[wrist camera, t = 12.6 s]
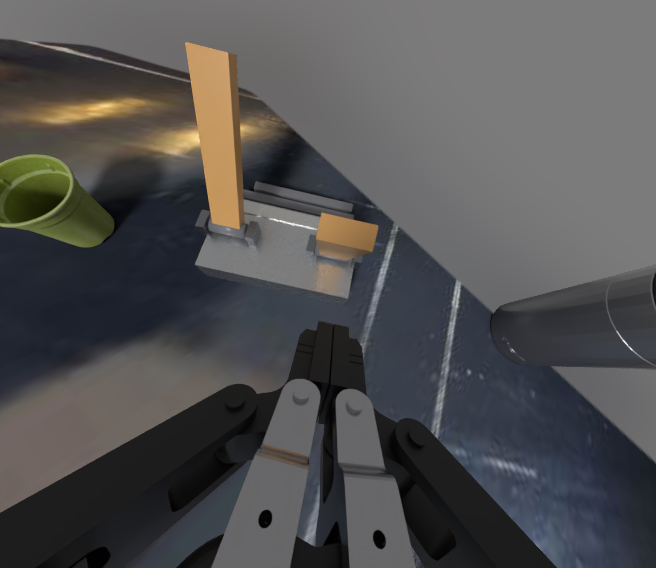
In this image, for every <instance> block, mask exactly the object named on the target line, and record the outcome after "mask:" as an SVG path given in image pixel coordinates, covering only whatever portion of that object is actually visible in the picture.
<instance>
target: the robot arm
mask: <svg viewBox="0 0 656 568" xmlns="http://www.w3.org/2000/svg"><path fill="white" fill-rule="evenodd" d="M491 332H492V336H493V339H494V341H495V343H496V345H497V346H498V348H499V349H500V351H501V352H502V353H503V354H504V355H505V356H506V357H508V358H509V359H510V360H512V361H514V362H516V363H519V364H523V365H541V366H563V367H591V368H621V369H647V370H656V265H652V266H648V267H645V268H641V269H637V270H633V271H629V272H626V273H622V274H619V275H615V276H611V277H608V278H603V279H600V280H596V281H592V282H588V283H584V284H580V285H577V286H573V287H569V288H565V289H561V290H558V291H554V292H550V293H546V294H542V295H538V296H535V297H531V298H527V299H523V300H519V301H515V302H511V303H508V304H504V305H502V306H500V307H499V308H498V309H497V310H496V311H495V312H494V314H493V317H492V320H491ZM318 417H319V422H318V423H319V424H325V425H324V436H323V439H322V442H321V457H320V505H319V515H318V521H317V529H316V547H314V546H312V545H310V544H309V543H307V542H305V541H304V540H302V539H300V538H298V537H297V536H296V533H297V527H298V522H299V517H300V511H301V506H302V501H303V495H304V490H305V485H306V479H307V474H308V468H309V456H310V450H311V445H312V440H313V435H314V429H315V424H316V423H317V420H318ZM248 460H253V461H252V464H251V466H250V469H249V472H248V474H247V477H246V479H245V482H244V485H243V487H242V490H241V492H240V495H239V497H238V500H237V503H236V505H235V508H234V510H233V513H232V516H231V518H230V521H229V523H228V526H227V529H226V531H225V534H222V535H220V536H217V537H216V538H214V539H212V540H210V541H208V542H206V543H205V544H204V545H202V546H201V547H199V548H198V549H196V550H195V551H194V552H193V553H192V554H190V555H189V556H188V557H187V558H186V559H185V560H184V561H183V562H182V563H180V564H179V565H178V566H177V567H176V568H416V566H415V561H414V557H413V552H412V548H411V546H412V547H413V549H414V551H415V552H416V554H417V555H418V557H419V558H420V560H421V562H422V563H423V565H424V566H425V568H557V567H556V566H555V565H554V564H553V563H552V562H551V561H550V560H549V559H548V558H547V557H546V556H545V554H544V553H543V552H542V551H541V550H540V549H539V548H538V547H537V546H536V545H535V544H534V543H533V542H532V540H531V539H530V538H529V537H528V536H527V535H526V534H525V533H524V532H523V531H522V530H521V529H520V528H519V526H518V525H517V524H516V523H515V522H514V521H513V520H512V519H511V518H510V517H509V516H508V515H507V514H506V512H505V511H504V510H503V509H502V508H501V507H500V506H499V505H498V504H497V503H496V502H495V501H494V500H493V498H492V497H491V496H490V495H489V494H488V493H487V492H486V491H485V490H484V489H483V488H482V487H481V486H480V485H479V483H478V482H477V481H476V480H475V479H474V478H473V477H472V476H471V475H470V474H469V473H468V472H467V471H466V469H465V468H464V467H463V466H462V465H461V464H460V463H459V462H458V461H457V460H456V459H455V458H454V457H453V455H452V454H451V453H450V452H449V451H448V450H447V449H446V448H445V447H444V446H443V445H442V444H441V443H440V441H439V440H438V439H437V438H436V437H435V436H434V435H433V434H432V433H431V432H430V431H429V430H428V429H427V428H426V427H425V426H424V425H423V424H422V423H420V422H419V421H416V420H414V419H410V418H404V419H402V420H400V421H399V422H398V423H397V422H395V421H393V420H391V419H389V418H387V417H385V416H383V415H382V414H380V413H379V412H377V411H376V410H375V409H374V408H373V406H372V403H371V401H370V400H369V398H368V397H367V394H366V385H365V374H364V366H363V353H362V347H361V345H360V344H359V342H358V340H357V339H352V338H349V328H348V327H345V326H340V325H336V324H334V325H333V324H331V323H326V322H321V321H319V322H318V326H317V330H316V331H313V330H309V329H306V330H305V331H304V332H303V333H302V334H301V335H300V337H299V341H298V345H297V348H296V352H295V356H294V359H293V363H292V367H291V371H290V374H289V378H288V380H287V382H286V383H285V385H284V386H282V387H281V388H280V389H278V390H276V391H273V392H269V393H260V394H256V392H255V391H254V389H253V388H251V387H250V386H247V385H244V384H234V385H230V386H227V387H225V388H223V389H222V390H220V391H218V392H216V393H214V394H213V395H211V396H209V397H207V398H206V399H204V400H202V401H200V402H198V403H197V404H195V405H193V406H191V407H189V408H188V409H186V410H184V411H182V412H180V413H179V414H177V415H175V416H173V417H171V418H170V419H168V420H166V421H164V422H162V423H161V424H159V425H157V426H155V427H153V428H152V429H150V430H148V431H146V432H145V433H143V434H141V435H139V436H137V437H136V438H134V439H132V440H130V441H128V442H127V443H125V444H123V445H121V446H119V447H118V448H116V449H114V450H112V451H110V452H109V453H107V454H105V455H103V456H101V457H100V458H98V459H96V460H94V461H93V462H91V463H89V464H87V465H85V466H84V467H82V468H80V469H78V470H76V471H75V472H73V473H71V474H69V475H67V476H66V477H64V478H62V479H60V480H58V481H57V482H55V483H53V484H51V485H49V486H48V487H46V488H44V489H42V490H40V491H39V492H37V493H35V494H33V495H32V496H30V497H28V498H26V499H24V500H23V501H21V502H19V503H17V504H15V505H14V506H12V507H10V508H8V509H6V510H5V511H3V512H1V513H0V568H124V567H125V566H126V565H127V564H128V563H129V562H131V561H132V560H133V559H134V558H135V557H136V556H138V555H139V554H140V553H141V552H142V551H143V550H145V549H146V548H147V547H148V546H149V545H150V544H152V543H153V542H154V541H155V540H156V539H157V538H159V537H160V536H161V535H162V534H163V533H164V532H166V531H167V530H168V529H169V528H170V527H172V526H173V525H174V524H175V523H176V522H177V521H179V520H180V519H181V518H182V517H183V516H184V515H186V514H187V513H188V512H189V511H190V510H191V509H193V508H194V507H195V506H196V505H197V504H198V503H200V502H201V501H202V500H203V499H204V498H205V497H207V496H208V495H209V494H210V493H211V492H212V491H214V490H215V489H216V488H217V487H218V486H219V485H221V484H222V483H223V482H224V481H225V480H226V479H228V478H229V477H230V476H231V475H232V474H233V473H235V472H236V471H237V470H238V469H239V468H240V467H242V466H243V465H244V464H245V463H246V462H247V461H248ZM374 542H375V543H374Z"/></svg>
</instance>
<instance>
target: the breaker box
mask: <svg viewBox="0 0 656 568" xmlns="http://www.w3.org/2000/svg"><path fill="white" fill-rule="evenodd" d="M210 218H211V212H210V211H206V210H202V211H201V213H200V216H199V218H198V220H197V222H196V225H195V226H196V227H197V229H198V230H199V231H200V232H201V233H202V235H207V237H206V239H205V241H204V244H203V246H202V249H201V251H200V253H199V256H198V258H197V261H196V263H195V265H196V266H197V267H198V268H199V269H200V270H202V271H203V272H204V273H205V274H206V275H208V276H212V277H217V278H222V279H226V280H231V281H235V282H240V283H244V284H249V285H254V286H258V287H263V288H267V289H272V290H276V291H281V292H286V293H290V294H295V295H299V296H304V297H308V298H313V299H318V300H322V301H327V302H331V303H336V304H340V305H344V303H345V302H346V301H347V299H348V296H349V290H350V285H351V279H352V273H353V268H354V269H358V268H359V266H360V265H361V263H362V257H363V255H361V256H358V257H355V258H352V259H351V260H350V262H349V263H348V262H344V261H340V260H335V259H331V258H326V257H322V256H317V250H318V245H317V241H316V236H317V231H318V227H319V222H320V218H321V217H318V216H314V215H309V214H305V213H301V212H296V211H292V210H288V209H283V208H279V207H275V206H270V205H266V204H262V203H257V202H253V201H249V200H244V218H245V223H246V224H248V225H249V226H248V228H247V231H246V234H245V239H242V238H237V237H233V236H228V235H224V234H220V233H215V232H211V231H210V230H209V228H208V223H209V219H210Z"/></svg>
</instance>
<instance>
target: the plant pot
mask: <svg viewBox="0 0 656 568" xmlns="http://www.w3.org/2000/svg"><path fill="white" fill-rule="evenodd" d="M0 226H1V227H9V228H19V229H26V230H30V231H33V232H36V233H39V234H42V235H45V236H48V237H51V238H54V239H57V240H60V241H63V242H66V243H69V244H72V245H76V246H79V247H93V246H96V245H99V244H101V243H102V242H103V241H104V240H105V239H106V238H107V237H108V236H110V235H111V234H112V232H113V230H114V220H113V218H112V216H111V215H110V214H109V213H108V212H107V211H105V210H104V209H103V208H102V207H101V206H100V205H99V204H98V203H97V202H96V201H95V200H94V199H93V198H92V197H91V196H90V195H89V194H88V193H87V192H86V191H85V190H84V189H83V188H82V187H81V186H80V185H79V183H78V181H77V180H76V179H75V177H74V175H73V173H72V171H71V169H70V168H69V167H68V166H67V165H66V164H64V163H63V162H62V161H60V160H58V159H56V158H54V157H51V156H46V155H35V154H33V155H24V156H19V157H15V158H12V159H9V160H6V161H4V162H2V163H0Z"/></svg>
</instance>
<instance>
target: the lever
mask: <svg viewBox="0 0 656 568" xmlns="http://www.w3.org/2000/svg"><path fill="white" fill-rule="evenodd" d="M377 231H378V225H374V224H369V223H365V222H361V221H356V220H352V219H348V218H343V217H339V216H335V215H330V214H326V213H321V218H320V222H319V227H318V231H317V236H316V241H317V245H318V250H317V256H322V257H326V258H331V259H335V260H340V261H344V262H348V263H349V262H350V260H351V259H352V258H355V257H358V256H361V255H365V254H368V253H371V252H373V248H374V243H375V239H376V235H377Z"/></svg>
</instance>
